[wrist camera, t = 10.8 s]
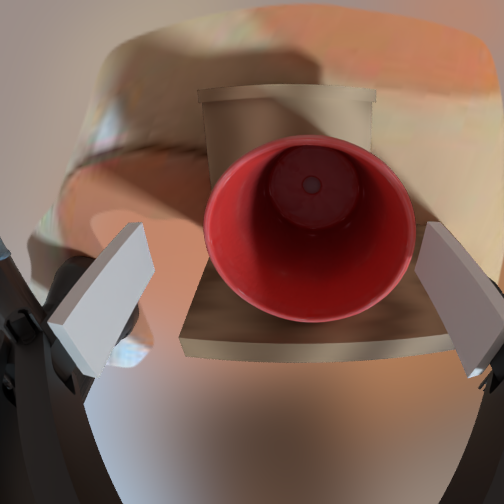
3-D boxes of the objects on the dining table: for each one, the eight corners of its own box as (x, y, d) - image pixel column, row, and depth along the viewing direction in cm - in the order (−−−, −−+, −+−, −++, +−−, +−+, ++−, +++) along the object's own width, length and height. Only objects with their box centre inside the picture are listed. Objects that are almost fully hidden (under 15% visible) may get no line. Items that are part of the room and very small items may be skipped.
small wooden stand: (227, 222, 30) (216, 252, 25) (215, 90, 23) (197, 90, 18) (349, 222, 29) (362, 253, 24) (356, 89, 21) (376, 89, 16)
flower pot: (252, 107, 19) (204, 120, 11) (395, 136, 18) (445, 173, 10) (240, 227, 25) (201, 300, 17) (361, 253, 24) (373, 337, 16)
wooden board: (225, 238, 31) (185, 356, 18) (223, 222, 30) (178, 337, 17) (441, 240, 28) (506, 338, 15) (445, 226, 27) (517, 321, 14)
